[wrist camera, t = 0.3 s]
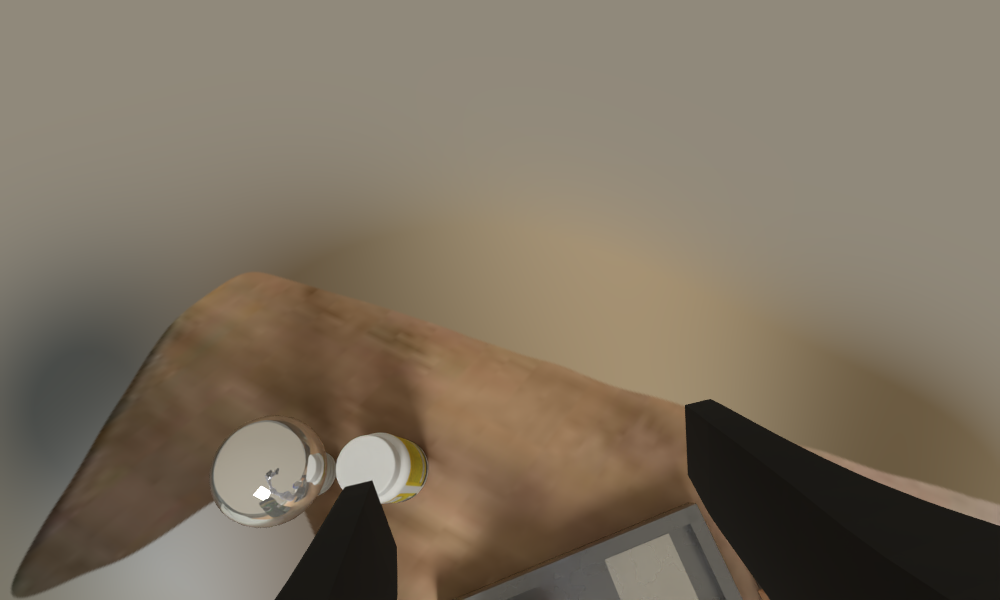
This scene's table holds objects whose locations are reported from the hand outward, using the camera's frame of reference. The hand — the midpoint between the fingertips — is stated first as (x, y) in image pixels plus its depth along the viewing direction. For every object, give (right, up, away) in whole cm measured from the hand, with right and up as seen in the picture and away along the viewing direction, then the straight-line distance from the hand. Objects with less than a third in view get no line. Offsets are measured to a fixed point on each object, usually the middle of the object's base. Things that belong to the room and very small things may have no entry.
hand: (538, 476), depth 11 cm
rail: (+5, -18, +24) cm, 31 cm away
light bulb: (-15, -10, +30) cm, 35 cm away
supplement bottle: (-9, -10, +29) cm, 32 cm away
